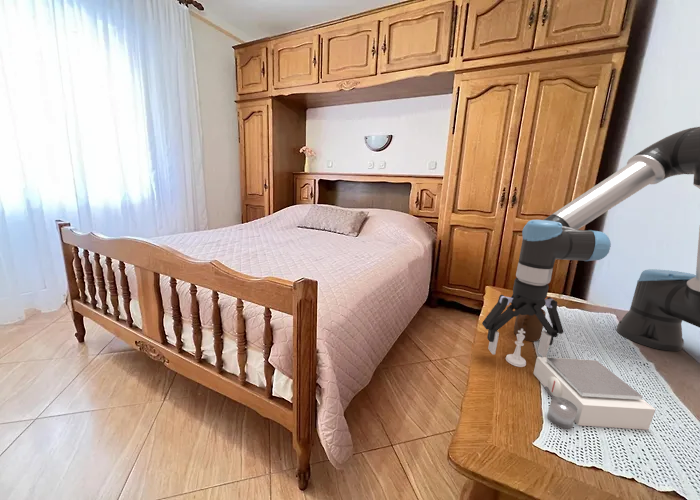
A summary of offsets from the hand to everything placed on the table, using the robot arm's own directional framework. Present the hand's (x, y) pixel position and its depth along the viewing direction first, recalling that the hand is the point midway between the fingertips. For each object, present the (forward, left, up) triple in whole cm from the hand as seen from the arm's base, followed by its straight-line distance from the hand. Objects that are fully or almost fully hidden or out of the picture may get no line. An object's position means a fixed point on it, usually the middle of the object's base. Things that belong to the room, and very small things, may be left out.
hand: (516, 353), depth 79 cm
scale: (-9, +13, -3) cm, 16 cm away
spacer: (+1, +20, -3) cm, 20 cm away
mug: (-9, -13, -3) cm, 16 cm away
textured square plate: (-9, +13, +3) cm, 16 cm away
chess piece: (0, 0, -3) cm, 3 cm away
